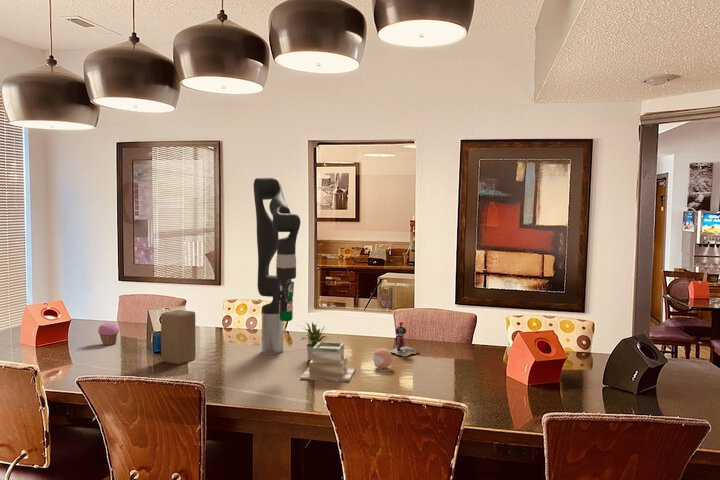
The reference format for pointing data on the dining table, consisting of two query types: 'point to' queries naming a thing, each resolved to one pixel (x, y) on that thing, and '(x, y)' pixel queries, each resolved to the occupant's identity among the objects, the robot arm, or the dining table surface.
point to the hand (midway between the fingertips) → (286, 310)
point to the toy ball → (382, 358)
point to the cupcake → (108, 333)
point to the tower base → (328, 363)
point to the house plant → (313, 338)
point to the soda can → (289, 313)
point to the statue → (402, 342)
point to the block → (178, 336)
